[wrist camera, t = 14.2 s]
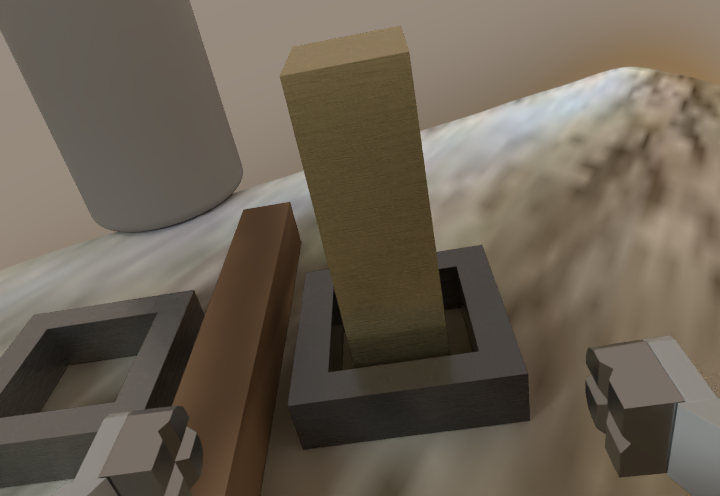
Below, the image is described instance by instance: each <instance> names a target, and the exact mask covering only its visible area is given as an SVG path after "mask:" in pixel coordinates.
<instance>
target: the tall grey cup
mask: <svg viewBox="0 0 720 496" xmlns="http://www.w3.org/2000/svg"><path fill="white" fill-rule="evenodd" d="M0 30H1V32H2V34H3V36H4V38H5V40H6V42H7V45H8V47H9V49H10V51H11V52H12V55H13V57H14V59H15V61H16V63H17V65H18V67H19V69H20V71H21V73H22V75H23V77H24V79H25V81H26V83H27V85H28V87H29V89H30V91H31V93H32V96H33V97H34V100H35V101H36V104H37V106H38V108H39V110H40V112H41V114H42V116H43V118H44V120H45V122H46V124H47V126H48V128H49V130H50V132H51V134H52V136H53V138H54V140H55V142H56V144H57V147H58V149H59V150H60V153H61V155H62V157H63V159H64V161H65V163H66V165H67V167H68V169H69V171H70V173H71V175H72V177H73V179H74V181H75V183H76V185H77V187H78V189H79V191H80V193H81V195H82V197H83V199H84V201H85V204H86V205H87V208H88V210H89V212H90V214H91V216H92V218H93V219H94V220H95V222H96V223H98V224H99V225H100V226H102V227H104V228H106V229H109V230H113V231H118V232H141V231H149V230H155V229H160V228H164V227H168V226H171V225H175V224H178V223H181V222H184V221H186V220H189V219H191V218H194V217H196V216H198V215H200V214H202V213H204V212H206V211H208V210H210V209H212V208H214V207H215V206H217V205H218V204H220V203H221V202H223V201H224V200H225V199H226V198H228V197H229V196H230V195H231V194H232V193H233V192H234V191H235V190H236V188H237V187H238V185H239V184H240V182H241V179H242V175H243V169H242V164H241V161H240V158H239V155H238V152H237V149H236V146H235V142H234V139H233V136H232V133H231V130H230V127H229V123H228V120H227V117H226V114H225V111H224V108H223V105H222V102H221V98H220V95H219V92H218V89H217V86H216V82H215V79H214V77H213V73H212V70H211V67H210V64H209V60H208V57H207V54H206V51H205V48H204V45H203V42H202V39H201V35H200V32H199V29H198V26H197V22H196V20H195V16H194V13H193V10H192V7H191V4H190V0H0Z"/></svg>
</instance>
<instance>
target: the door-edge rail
mask: <svg viewBox="0 0 720 496" xmlns="http://www.w3.org/2000/svg"><path fill="white" fill-rule="evenodd" d="M300 247H301V240H300V236H299V233H298V229H297V225H296V222H295V218H294V215H293V211H292V207H291V204H290V202H287V203H281V204H275V205H269V206H263V207H257V208H251V209H245V210H243V213H242V215H241V218H240V221H239V223H238V226H237V229H236V232H235V234H234V237H233V240H232V243H231V245H230V248H229V251H228V254H227V256H226V259H225V262H224V265H223V267H222V270H221V273H220V276H219V278H218V281H217V284H216V287H215V289H214V292H213V295H212V298H211V300H210V303H209V306H208V308H207V311H206V314H205V317H204V319H203V322H202V325H201V328H200V330H199V333H198V336H197V339H196V341H195V344H194V347H193V350H192V352H191V355H190V358H189V361H188V363H187V366H186V369H185V372H184V374H183V377H182V380H181V383H180V385H179V388H178V391H177V393H176V396H175V399H174V402H173V404H172V406H183V407H184V409H185V410H186V412H187V414H188V416H189V421H188V424H187V427H189V428H190V429H192V430H194V431H195V432H197V434H198V436H199V438H200V440H201V444H202V449H203V467H202V471H201V475H200V479H199V480H198V481H197V482H196V483H195V484H194V485H193V486H192V488H191V489H190V491H191V493H192V495H193V496H260V492H261V486H262V480H263V474H264V468H265V462H266V456H267V449H268V443H269V437H270V431H271V425H272V419H273V413H274V407H275V400H276V394H277V388H278V382H279V376H280V370H281V364H282V358H283V352H284V345H285V339H286V333H287V327H288V321H289V315H290V309H291V303H292V296H293V290H294V284H295V278H296V272H297V266H298V260H299V254H300Z"/></svg>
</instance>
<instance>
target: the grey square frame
mask: <svg viewBox="0 0 720 496" xmlns="http://www.w3.org/2000/svg"><path fill="white" fill-rule="evenodd" d="M204 317H205V315H204V313H203V310H202V308H201V305H200V303H199V301H198V298H197V296H196V293H195V291H194V290H191V291H184V292H178V293H171V294H165V295H159V296H152V297H146V298H139V299H133V300H127V301H120V302H114V303H107V304H101V305H95V306H88V307H82V308H75V309H69V310H63V311H56V312H50V313H43V314H37V315H33V317H32V318H31V319H30V321H29V322H28V323H27V324H26V326H25V327H24V328H23V330H22V331H21V332H20V333H19V335H18V336H17V337H16V339H15V340H14V341H13V342H12V344H11V345H10V346H9V348H8V349H7V350H6V352H5V353H4V354H3V355H2V357H1V358H0V488H1V487H9V486H17V485H25V484H33V483H41V482H49V481H56V480H64V479H72V478H75V477H76V475H77V473H78V471H79V469H80V467H81V465H82V463H83V461H84V459H85V457H86V455H87V453H88V450H89V448H90V446H91V444H92V442H93V440H94V438H95V436H96V434H97V432H98V430H99V428H100V426H101V424H102V422H103V420H104V419H105V418H106V417H107V416H108V415H109V414H113V413H122V412H131V411H135V410H144V409H153V408H161V407H170V406H172V404H173V402H174V399H175V396H176V393H177V391H178V388H179V385H180V383H181V380H182V377H183V374H184V372H185V369H186V366H187V363H188V361H189V358H190V355H191V352H192V350H193V347H194V344H195V341H196V339H197V336H198V333H199V330H200V328H201V325H202V322H203V319H204ZM132 355H137V357H136V359H135V361H134V363H133V365H132V368H131V370H130V372H129V374H128V376H127V378H126V380H125V382H124V384H123V386H122V388H121V390H120V393H119V395H118V397H117V399H116V401H115V402H112V403H105V404H97V405H90V406H83V407H76V408H69V409H62V410H54V411H47V412H40V410H41V409H42V407H43V405H44V404H45V402H46V401H47V399H48V397H49V396H50V394H51V392H52V391H53V389H54V388H55V386H56V384H57V383H58V381H59V379H60V378H61V376H62V375H63V373H64V371H65V370H66V368H67V366H68V365H70V364H77V363H84V362H91V361H98V360H104V359H111V358H118V357H125V356H132ZM39 412H40V413H39Z"/></svg>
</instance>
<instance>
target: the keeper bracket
mask: <svg viewBox="0 0 720 496" xmlns="http://www.w3.org/2000/svg"><path fill="white" fill-rule="evenodd" d="M436 254H437V261H438V269H439V276H440V284H441V291H442V298H443V306H444V310H445V309H452V308H459V307H461V308H462V312H463V316H464V320H465V324H466V328H467V332H468V336H469V340H470V344H471V348H472V352H471V353H464V354H457V355H450V356H442V357H435V358H428V359H421V360H414V361H407V362H399V363H392V364H385V365H378V366H371V367H363V368H356V369H349V370H342V359H343V329H344V325H343V321H342V317H341V313H340V309H339V305H338V301H337V298H336V294H335V290H334V286H333V282H332V278H331V274H330V270H329V269H325V270H319V271H312V272H306V276H305V283H304V291H303V298H302V305H301V312H300V320H299V327H298V334H297V341H296V349H295V356H294V363H293V370H292V378H291V385H290V392H289V399H288V409H289V411H290V414H291V417H292V420H293V423H294V425H295V428H296V431H297V434H298V437H299V439H300V442H301V445H302V448H303V449H309V448H317V447H324V446H332V445H340V444H348V443H356V442H364V441H372V440H380V439H387V438H395V437H403V436H411V435H419V434H427V433H435V432H443V431H451V430H458V429H466V428H474V427H482V426H490V425H498V424H506V423H514V422H521V421H529V420H530V411H529V386H528V372H527V370H526V367H525V364H524V361H523V358H522V355H521V353H520V350H519V347H518V344H517V341H516V339H515V336H514V333H513V330H512V327H511V325H510V322H509V319H508V316H507V313H506V311H505V308H504V305H503V302H502V299H501V297H500V294H499V291H498V288H497V285H496V282H495V280H494V277H493V274H492V271H491V268H490V266H489V263H488V260H487V257H486V254H485V252H484V249H483V246H482V245H479V246H472V247H466V248H459V249H453V250H447V251H440V252H436Z"/></svg>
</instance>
